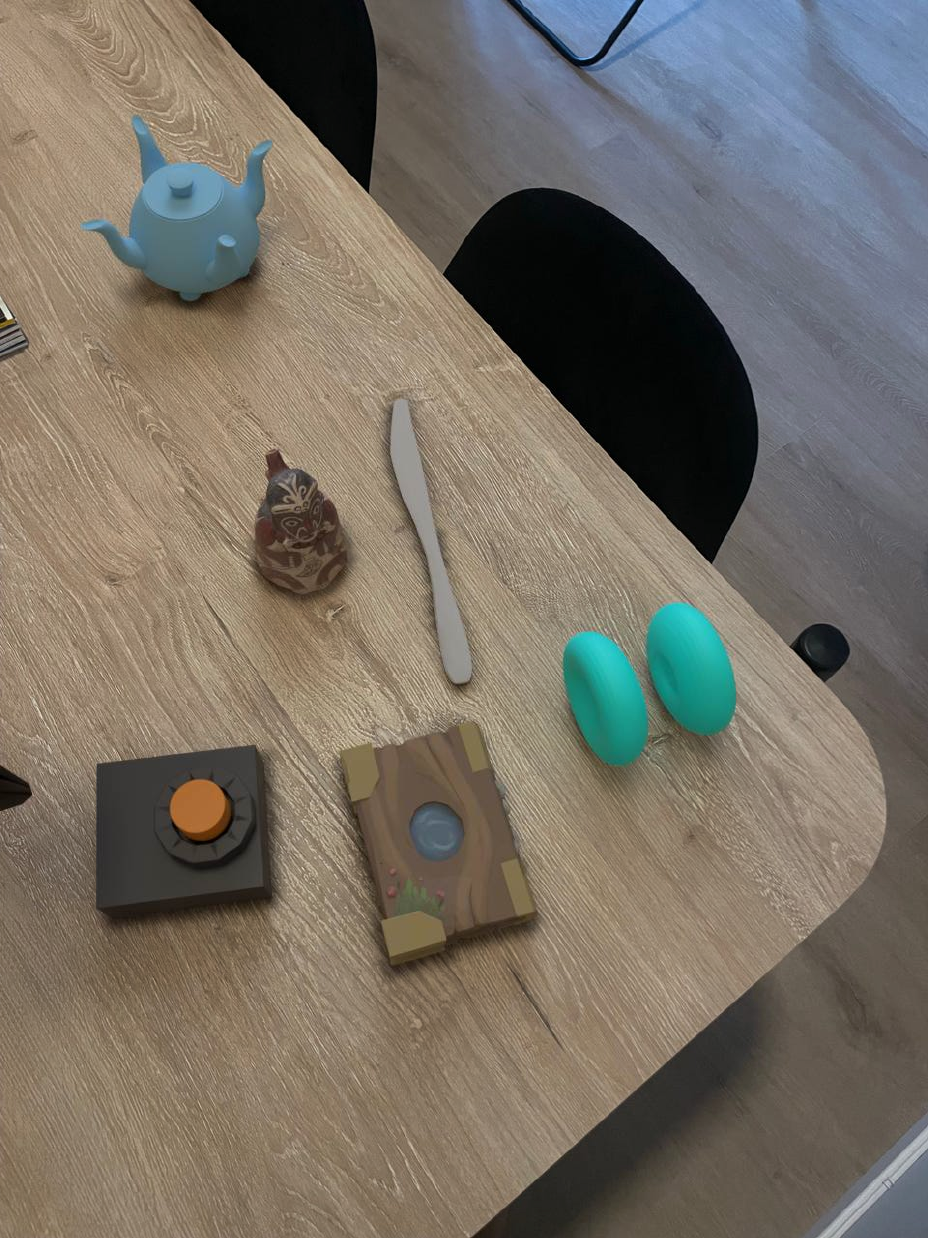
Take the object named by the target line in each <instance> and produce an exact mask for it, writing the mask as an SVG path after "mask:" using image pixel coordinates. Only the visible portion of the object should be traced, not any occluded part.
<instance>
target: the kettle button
mask: <svg viewBox="0 0 928 1238" xmlns="http://www.w3.org/2000/svg"><path fill="white" fill-rule="evenodd" d="M170 815H171V818H172V820H173V822H174V823H175V825H176V826H177V827H178V828H179V829H180V831H181V832H182V833H183V834H184V835H185V836H187V837H188V838H190V839H192V840H196V841H208V840H211V839H214V838H216V837H217V836H219V835H220V834H221V833H222V832H223V831H224V830H225V829H226V827H227V826H228V824H229V821H230V818H231V807H230V804H229V802H228V800H227V798H226V797H225V795H224V793H223V792H222V790H221V789H220V788H219V787H218V786H217V785H216V784H215V783H213V782H211V781H208V780H203V779H198V780H192V781H189V782H187V783H185V784H184V785H182V786H181V787H180V788H179V789H178V790H177V791H176V792H175V794H174V795H173V797H172V800H171V803H170Z"/></svg>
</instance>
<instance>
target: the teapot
mask: <svg viewBox="0 0 928 1238" xmlns="http://www.w3.org/2000/svg"><path fill="white" fill-rule="evenodd" d="M131 126H132V129H133V131H134V134H135V136H136V139H137V143H138V147H139V155H140V171H141V178H142V186H141V188H140V191H139V192H138V193H137V196H136V198H135V200H134V203H133V205H132V208H131V210H130V211H131V212H130V217H129V223H128V237H123V236H121V234H120V232H119V231H118V228H116V226H115V225H114V224H113V223H112V222H111V221H108V220H107V219H102V218H101V219H100V218H96V219H90V220H88V221H85V222H84V223H82V224H81V226H80V228H81V229H82V230H83V231H90V232H96V233H99V234H100V235H102V237H104V239H105V241H106V242H107V244H108V247H109V248H110V250H111V251H112V253H113V255H114V256H115V257H116V258H117V259H118V261H120V262H121V263H122V264H124V265H125V266H127V267H128V268H131V269H135V270H140V271H141V272H142V273H143V274H144V276H146V277H147V278H149V280H151V281H152V282H154V283H155V284H157V285H159V286H161V287H163V288H166V289H168V290H171V291H174V292H179V296H180V298H181V299H182V300H184V301H188V302H192V301H196V300H198V299H199V298H201V296H202V294H203V293H204V294H205V293H210V292H214V291H217V290H220V289H223V288H224V287H225V288H226V287H227V286H229V285H230V284H232V283H234V282H235V281H236V280H238V279H242V278H244V277H246V276H247V275H248V274H249V273H250V269H251V268H250V267H251V266H252V265H253V263H254V262H255V260H256V258H257V256H258V253H259V249H260V246H261V245H260V244H261V232H260V228H259V225H258V220H257V218H258V217H259V215H260V214H261V212H262V210H263V208H264V207H265V203H266V184H265V179H264V174H263V164H264V160H265V157H266V155H267V154H268V152H269V151H270V150H271V148H272V147H273V144H274V142H273V140H272V139H267V140H264V141H262V142H260V143H259V144H257V145H256V146H255V147H254V148H253V149H252V150H251V152H250V154H249V156H248V158H247V162H246V177H245V179H244V181H243V182H242V184H240V186H239V187H238V188H237V187H236V186H234V184H232V183H231V182H230V181H229V180H227V179H226V178H225V177H224V176H223V175H221V174H220V173H219V172H217V171H216V170H214V169H212V168H210V167H208V166H206V165H204V164H200V163H196V162H189V161H187V162H186V161H185V162H182V161H181V162H175V163H170V164H169V163H168V161H167V160H166V158H165V157H164V155H163V153H162V152H161V150H160V149H159V147H158V145H157V143H156V142H155V140H154V137H153V136H152V134H151V132H150V130H149V127H148V125H147V124H146V122H145V120H144V119H142V118H141V116H139V115H137V114H134V115H132V117H131Z"/></svg>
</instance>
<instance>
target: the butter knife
mask: <svg viewBox="0 0 928 1238" xmlns="http://www.w3.org/2000/svg"><path fill="white" fill-rule="evenodd" d="M389 455H390V459H391V463H392V467H393V470H394V474H395V478H396V481H397V484H398V487H399V490H400V493H401V496H402V499H403V501H404V504H405V506H406V508H407V510H408V512H409V514H410V517H411V520H412V521H413V523H414V525H415V528H416V532H417V535H418V538H419V540H420V543H421V545H422V549H423V551H424V554H425V557H426V563H427V568H428V572H429V579H430V582H431V589H432V598H433V599H432V600H433V610H434V619H435V627H436V634H437V639H438V645H439V651H440V656H441V659H442V664H443V668H444V671H445V674H446V676H447V677H448V679H449V680H450V681H451V683H452V684H454V685H461V684H462V685H463V684H466V683H468V682H469V681H470V680H471V675H472V672H473V663H472V658H471V652H470V646H469V643H468V639H467V635H466V631H465V627H464V624H463V621H462V617H461V614H460V609H459V607H458V604H457V601H456V598H455V596H454V593H453V589H452V587H451V583H450V580H449V577H448V574H447V573H448V572H447V570H446V566H445V562H444V559H443V555H442V552H441V548H440V544H439V540H438V539H439V538H438V535H437V531H436V527H435V522H434V516H433V511H432V508H431V507H432V506H431V502H430V497H429V492H428V487H427V482H426V479H425V473H424V469H423V468H424V467H423V464H422V460H421V455H420V451H419V448H418V444H417V439H416V435H415V432H414V428H413V423H412V417H411V412H410V408H409V404H408V400H407V399H405V398H401V397H400V398H398V399H396V400H395V401H394V402H393V409H392V415H391V425H390V447H389Z"/></svg>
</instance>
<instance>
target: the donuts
mask: <svg viewBox="0 0 928 1238" xmlns="http://www.w3.org/2000/svg"><path fill="white" fill-rule="evenodd" d="M645 640H646V643H645V647H646V648H645V649H646V658H647V664H648V668H649V673H650V675H651V679H652V682H653V684H654V687H655V689H656V692H657V694H658V696H659V698H660V700H661V702H662V704H663V705H664V706H665V708H666V710H667V711H668V713H669V714H670V716H672V718H673V719H674V720H675V721H676V722H677V723H678V724H679V725H681V726H682V727H683V728H684V729H686V730H687V731H689V732H692V733H694V734H697V735H702V736H713V735H715V734H718V733H720V732H723V731H724V730H725V729H726V728H727V727H728V725H729V724H730V723H731V722H732V719H733V717H734V715H735V712H736V707H737V686H736V679H735V675H734V671H733V667H732V663H731V660H730V658H729V655H728V652H727V649H726V646H725V645H724V643H723V640H722V639H721V637H720V635H719V633H718V632H717V629H715V626H714V625H713V623H712V622H711V621H710V620H709V619H708V618H707V616H706V615H704V614H703V612H701V610H699V609H697V608H696V607H695V606H693V605H691V604H688V603H685V602H671V603H668V604H665V605H664V606H662V607H660V608H659V609H658V610H657V611H656V612H655V613H654V615H653V616H652V618H651V620H650V622H649V624H648V628H647V632H646V639H645ZM562 671H563V672H562V674H563V681H564V686H565V690H566V694H567V697H568V701H569V704H570V707H571V710H572V713H573V716H574V718H575V721H576V723H577V725H578V727H579V730H580V732H581V734H582V735H583V738H584V739H585V741H586V743H587V744H588V746H589V748H590V749H591V750H592V751H593V753H594V754H595V756H597V757H598V759H600V760H601V761H602V762H604V763H606V764H608V765H611V766H614V767H623V766H629V765H630V764H631V763H633V762H635V761H636V760H637V759H638V758H639V757H640V756H641V754H642V753H643V751H644V749H645V746H646V743H647V739H648V733H649V717H648V710H647V705H646V701H645V697H644V692H643V690H642V687H641V684H640V681H639V679H638V676H637V674H636V672H635V670H634V667H633V666H632V664H631V662H630V660H629V658H628V657H627V656H626V655H625V653H624V652H623V651H622V649H621V648H620V647H619V646H618V645H617V644H616V643H615V642H614V641H613V640H612V639H610V638H609V637H608V636H606V635H604V634H602V633H599V632H596V631H591V630H589V631H582V632H579V633H576V634H575V635H574V636H572V637H571V638H570V639H569V640H568V641H567V644H566V645H565V647H564V649H563V656H562Z"/></svg>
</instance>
